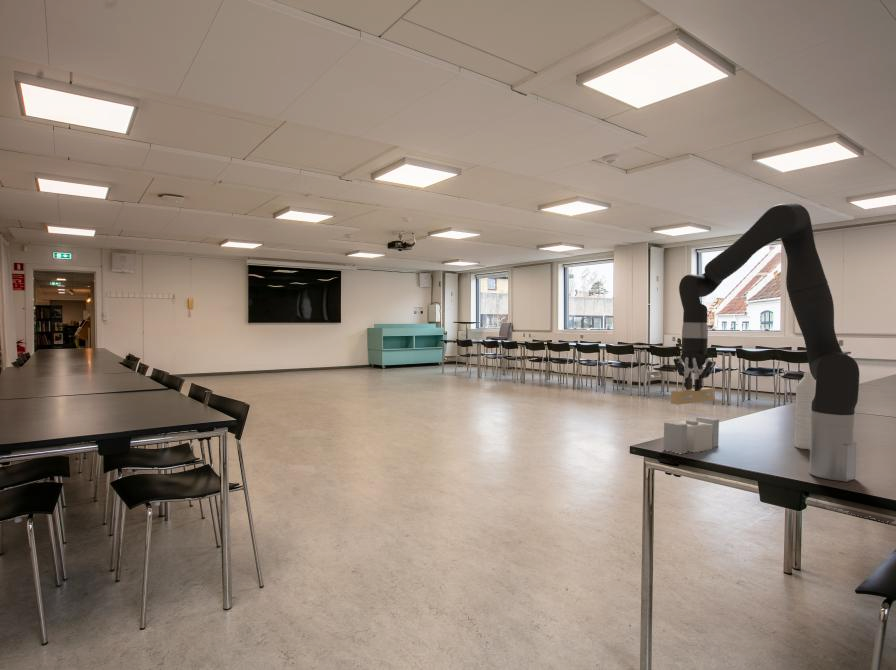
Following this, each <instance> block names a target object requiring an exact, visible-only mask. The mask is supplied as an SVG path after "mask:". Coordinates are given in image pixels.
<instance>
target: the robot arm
mask: <svg viewBox="0 0 896 670" xmlns="http://www.w3.org/2000/svg"><path fill="white" fill-rule="evenodd" d="M812 225H813V223H812V219H811V216H810V213H809V211H808V209H807V208H806V207H805V206H803V205H802V204H799V203H794V202H793V203H779V204H776V205H772V206H771V207H770V208H768V209H767V210H766V211H765V212H764V213H763V214H762V215H761V216H760V217H759V218H758V219H757V220H756V221H755V223H753V224H752V226H751V227H749V229H748V230H747V231H746V232H745V233H744V234H743V235H742V236H740V237H739V238H738V239H737V240H736V241H735V242H733V243H732V244H731V245H730V246H729V247H727V248H726V249H724V250H723V251H721V252H720V253H719V254H717V256H715V257H714V258H712V259H711V260H710V261H709V262H707V264H705V266H704V273H702V274H686V275H684V276H683V277H682V278H681V280H680V282H679V286H678V292H679V296H680V301H681V306H682V310H683V313H682V314H683V316H682V328H681V329H682V330H681V354H680V356H679V357H677V358H673V360H672V361H673V363H674V365H675V369H676V371H677V372H678V375H679V376H681V377H684V389H685V390H686V389H693V378H692V376H693V372H694V376H695V377H694V378H695V379H694V389H695V391H700V389H702V388H703V380H704V379H706V378H709V377H710V374H711V373H712V371H713V369H714V367H715V365H716V364H717V362H716V361H715V360H711V359H709V357H708V355H707V354H708V353H707V352H708V336H709V335H708V334H709V332H708V331H709V330H708V308H707V306H706V305H705V304H703V303H702V301H701V298H704V297H707V296H709V295H710V294H713V292H715V290H716V289H717V288H718V287H719V286H720V285H721V284H722V283H723V282H724V280H726V279H727V278H729V277H730V276H732V275H733V274H735V273H736V272H737V271H738V270H740V269H741V268H742V267H743V266H744V265H745V264H746V263H747V262H748V261H749V260H750V259H751V258H752V257H753V255H755V254H756V253H757V252H758V251H760V250H761V249H763V248H764V247H766V246H768V245H770V244H771V243H773V242H775V241H778V240H779V239H780V240H781V243H782V245H783V248H784V250H785V255H786V277H785V283H786V285H785V286H786V291H787V292H786V293H787V295H788V297H789V301H790V305H791V307H792V311H793V313H794V316H795V318H796V321H797V324H798V327H799V329H800V331H801V334H802V337H803V341H804V344H805V351H806V355H807V361H808V368H809V371H810V372H809V373H811V374H812V376H813V378H814V379H815V381H816V390H815V397H814V399H813V400H812V406H811V437H810V450H809V470H808V471H809V474H810V475H812V476H814V477H817V478H821V479H826V480H830V481H831V480H832V481H840V482H845V483H846V482H847V483H848V482H850V481H853V480H855V479H856V474H857V473H856V471H857V470H856V469H857V445H858V444H857V442H855V441H854V439H855V437H854V436H855V410H856V407H857V403H858V402H859V401H858V400H859V391H860V387H859V386H860V368H859V364H858V363H857V361H856V360H855V358H853V357H852V356H850V355H848V354H846V353H844V352H843V350H842V348H841V345H840V343H839V341H838V338H837V335H836V331H835V306H834V300H833V296H832V293H831V289H830V285H829V282H828V279H827V277H826V275H825V271H824V268H823V265H822V262H821V259H820V256H819V253H818V251H817V247H816V242H815V238H814V236H815V235H814V232H813V227H812ZM704 366H705V367H704Z"/></svg>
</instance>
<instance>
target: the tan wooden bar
mask: <svg viewBox="0 0 896 670" xmlns="http://www.w3.org/2000/svg"><path fill="white" fill-rule="evenodd" d="M714 392H715V388H714V387H713V388H712V387H702V389H700V391H695V388H692V389H686V388H685V389H678V390H671V391H670V404H671V405H685V404H695V403H702V402H711V401H714V397H715V396H714V395H715V393H714Z"/></svg>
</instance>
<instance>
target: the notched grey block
mask: <svg viewBox="0 0 896 670" xmlns="http://www.w3.org/2000/svg"><path fill="white" fill-rule="evenodd" d="M695 418H696V420H694V419H692V420H691V419H686V420H683V421H677V422H674V421H664V423H663V450H668V451H672V452H677V453H681V454H682V453H688V452H687V451H690V452H689V453H691V452H694V453H693V454H696V453H695V452H697V453H701V452H700V451H702V452H705V450H706V451H710V449H711V450H713V447H714V448H717V446H718V447H719V437H720V436H719V435H720V434H719V432H720V431H719V430H720V428H719V427H720V419H718V418H712V417H707V416H697V417H695ZM668 451H667V452H668ZM672 452H671V453H672ZM682 455H683V454H682Z"/></svg>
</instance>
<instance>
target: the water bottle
mask: <svg viewBox="0 0 896 670" xmlns="http://www.w3.org/2000/svg"><path fill="white" fill-rule="evenodd" d="M815 390H816V380H815V379H814V377H813V376H812V374H811V372H804V373H803V377H802V378H801V379H800V380H799V382H798V383H797V384H796V385H795V393H796V394H795V397H796V398H795V411H794V413H795V417H794V421H795V422H794V432H795V433H794V443H793V446H794V447H795V448H798V449H802V450H803V449H804V450H807V449H808V450H809V451H810V437H811V406H812V400H813V399H814V397H815Z"/></svg>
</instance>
